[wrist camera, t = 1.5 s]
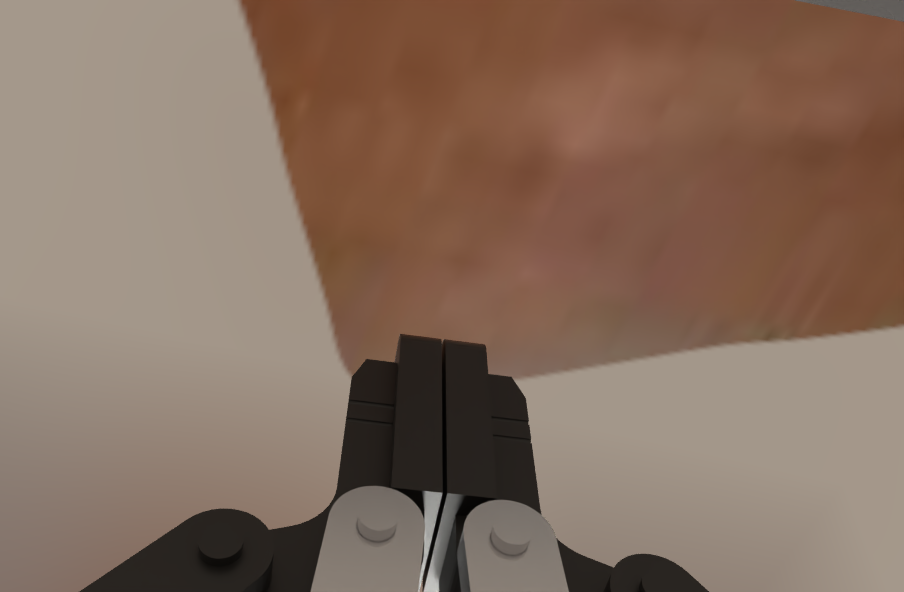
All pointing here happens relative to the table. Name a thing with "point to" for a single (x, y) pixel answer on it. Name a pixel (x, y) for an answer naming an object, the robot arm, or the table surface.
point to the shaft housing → (867, 7)
